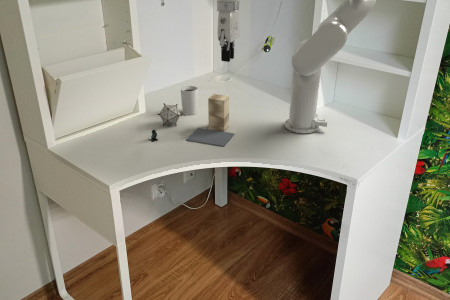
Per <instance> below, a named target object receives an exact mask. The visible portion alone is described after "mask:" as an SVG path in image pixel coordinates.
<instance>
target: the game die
mask: <svg viewBox="0 0 450 300" xmlns="http://www.w3.org/2000/svg"><path fill="white" fill-rule="evenodd" d="M157 116H159V117H160V118H161V119H160V120H161V121H162V122H163V124H162V126H165V124H166V125H174V126H175V127H177V126H178V125H177V123H178V121H179V119H180V118H181V116H183V113H180V110H179V108H178V103H176V104H175V105H174V104H166V103H165V102H163V107H162V109H161V111H160V112H159V113H157Z"/></svg>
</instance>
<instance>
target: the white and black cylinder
mask: <svg viewBox="0 0 450 300" xmlns="http://www.w3.org/2000/svg"><path fill="white" fill-rule="evenodd" d="M198 89H199V88H198V87H197V86H194V85H184V86H182V87H180V98H181V110H182V115H184V116H194V115H197V114H198V101H199V99H198V95H199V90H198Z"/></svg>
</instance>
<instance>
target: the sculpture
mask: <svg viewBox="0 0 450 300" xmlns="http://www.w3.org/2000/svg"><path fill="white" fill-rule="evenodd" d="M157 131H158V130H157V129H152V130H151V136H150V138H149V139H148V140H147V141H149V142H150V143H155V142H158V141H159V139H158V138H157V136H158V133H157Z"/></svg>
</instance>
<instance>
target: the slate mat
mask: <svg viewBox="0 0 450 300" xmlns="http://www.w3.org/2000/svg"><path fill="white" fill-rule="evenodd" d="M234 136H235V132H230V131H229V132H228V131H225V132H223V131H217V130H210V129H209V128H205V127H204V128H203V127H197V128H196V129H195V130H194V131H193V132H192V133H190V134H189V136H187V138H186V139H185V141H187V142H193V143H198V144H205V145H211V146H216V147H223V148H225V146H226V145H228V143H229V141H230V140H231V139H232V138H233V137H234Z"/></svg>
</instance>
